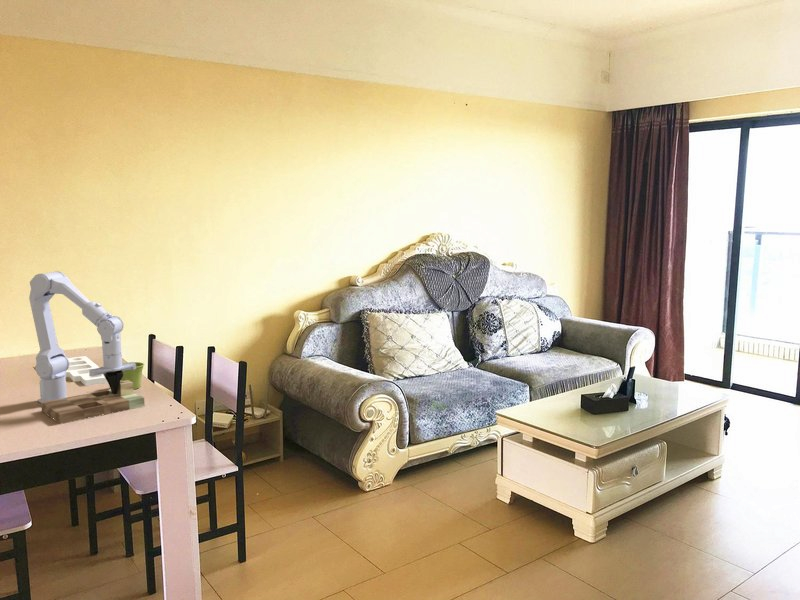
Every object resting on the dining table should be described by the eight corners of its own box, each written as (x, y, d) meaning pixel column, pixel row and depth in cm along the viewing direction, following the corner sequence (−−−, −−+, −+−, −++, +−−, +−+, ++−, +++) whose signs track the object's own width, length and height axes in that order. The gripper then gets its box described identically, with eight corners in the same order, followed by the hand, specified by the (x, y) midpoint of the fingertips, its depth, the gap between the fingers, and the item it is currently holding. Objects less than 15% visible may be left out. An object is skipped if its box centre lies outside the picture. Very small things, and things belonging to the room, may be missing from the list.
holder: (111, 383, 247) (110, 376, 247) (58, 391, 237) (57, 383, 236) (86, 362, 283) (85, 356, 283) (39, 367, 273) (38, 361, 272)
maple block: (116, 393, 220) (116, 381, 220) (128, 391, 223) (128, 380, 223) (121, 395, 218) (120, 384, 217) (133, 394, 220) (132, 382, 220)
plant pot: (137, 383, 246) (136, 360, 245) (150, 387, 240) (149, 364, 239) (113, 388, 239) (111, 365, 238) (126, 392, 233) (124, 369, 232)
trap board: (41, 411, 211) (41, 402, 211) (122, 395, 229) (122, 387, 229) (60, 423, 198) (59, 414, 198) (144, 406, 216) (144, 397, 216)
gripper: (93, 359, 208) (96, 400, 210) (138, 352, 218) (141, 391, 220) (85, 355, 213) (88, 396, 215) (130, 349, 223) (132, 387, 225)
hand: (114, 393), depth 218 cm, fingers closed
